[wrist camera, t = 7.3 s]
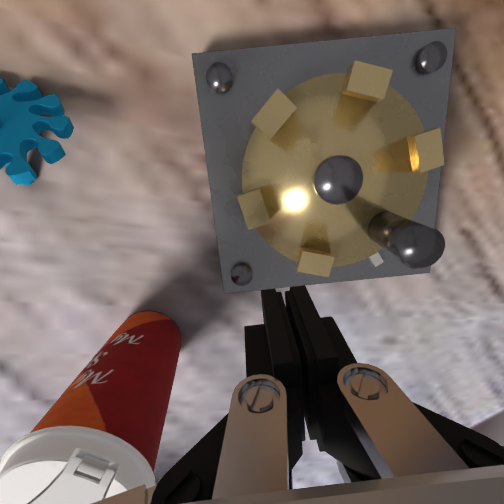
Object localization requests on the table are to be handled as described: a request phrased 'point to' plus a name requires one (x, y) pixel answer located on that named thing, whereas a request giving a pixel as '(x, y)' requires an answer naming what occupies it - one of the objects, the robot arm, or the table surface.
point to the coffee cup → (100, 422)
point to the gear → (29, 129)
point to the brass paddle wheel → (341, 172)
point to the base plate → (284, 78)
